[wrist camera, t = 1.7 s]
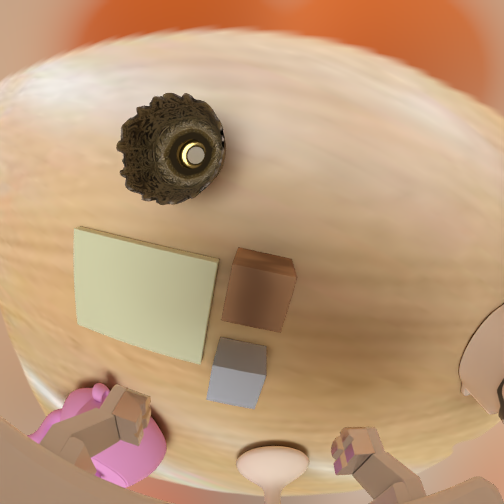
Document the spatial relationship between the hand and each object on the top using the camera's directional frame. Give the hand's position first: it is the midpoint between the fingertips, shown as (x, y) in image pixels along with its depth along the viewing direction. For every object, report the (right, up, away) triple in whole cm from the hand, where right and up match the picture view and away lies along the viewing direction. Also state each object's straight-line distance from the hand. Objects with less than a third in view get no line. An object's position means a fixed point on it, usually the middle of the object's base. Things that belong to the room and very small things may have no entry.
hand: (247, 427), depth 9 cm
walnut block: (+1, +5, +17) cm, 18 cm away
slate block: (-1, -5, +20) cm, 20 cm away
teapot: (-23, -19, +25) cm, 38 cm away
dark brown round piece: (-5, +16, +14) cm, 22 cm away
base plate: (-12, +2, +18) cm, 22 cm away
